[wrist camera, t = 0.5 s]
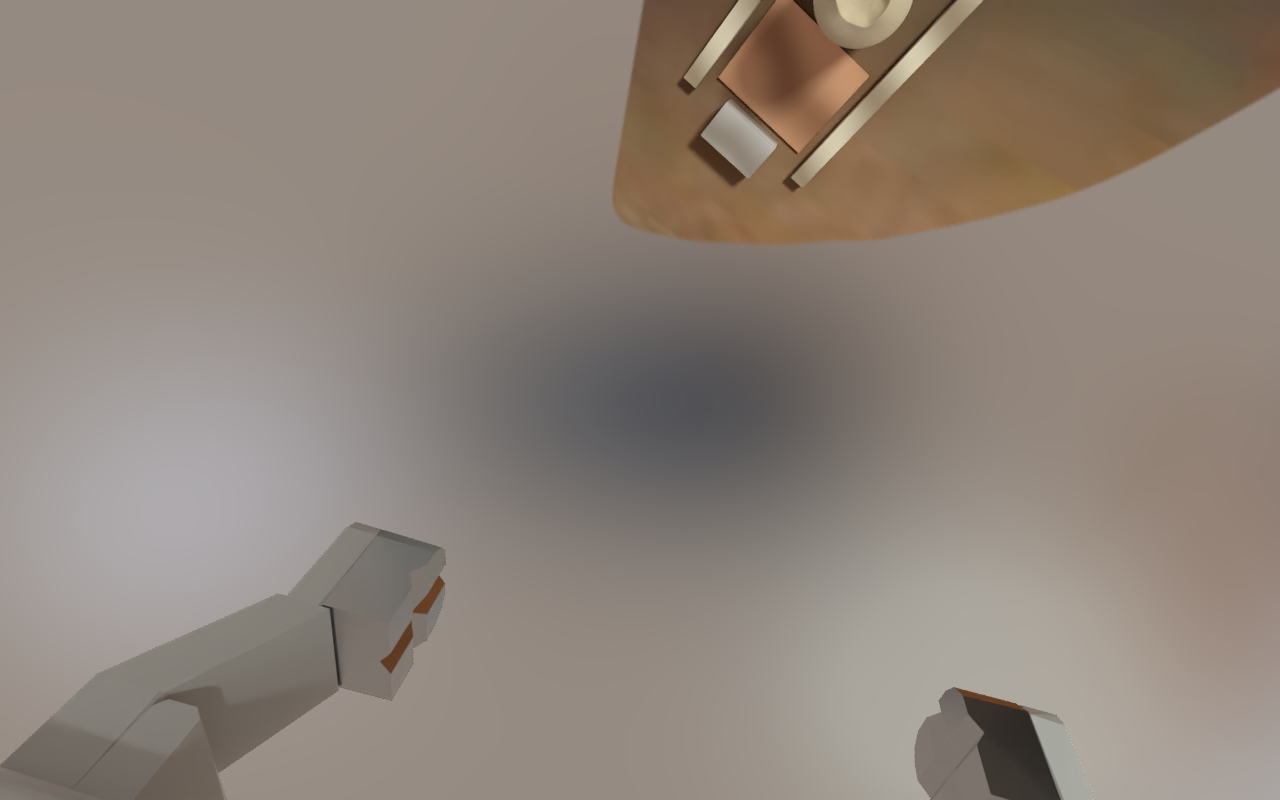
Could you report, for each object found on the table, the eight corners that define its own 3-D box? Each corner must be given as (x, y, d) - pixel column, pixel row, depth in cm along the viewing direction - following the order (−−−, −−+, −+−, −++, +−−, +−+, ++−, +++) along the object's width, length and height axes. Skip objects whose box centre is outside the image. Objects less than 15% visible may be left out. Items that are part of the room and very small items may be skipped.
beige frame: (873, -185, 39) (873, -191, 37) (1013, -35, 40) (1018, -34, 39) (670, 97, 51) (664, 101, 49) (785, 202, 53) (782, 210, 51)
